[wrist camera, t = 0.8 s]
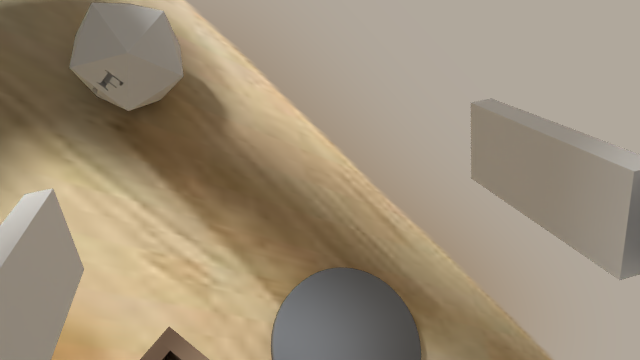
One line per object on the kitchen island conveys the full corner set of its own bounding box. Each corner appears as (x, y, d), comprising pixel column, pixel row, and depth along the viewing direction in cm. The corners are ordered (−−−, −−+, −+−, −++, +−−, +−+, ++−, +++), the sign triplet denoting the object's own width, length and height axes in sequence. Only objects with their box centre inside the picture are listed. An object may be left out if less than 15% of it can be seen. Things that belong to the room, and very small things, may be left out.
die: (57, 64, 42) (35, 61, 33) (120, -13, 43) (115, -37, 34) (138, 124, 45) (139, 135, 37) (197, 51, 46) (211, 45, 37)
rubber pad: (238, 361, 35) (240, 359, 35) (327, 243, 42) (330, 238, 41) (368, 469, 35) (374, 469, 34) (438, 332, 42) (444, 330, 41)
